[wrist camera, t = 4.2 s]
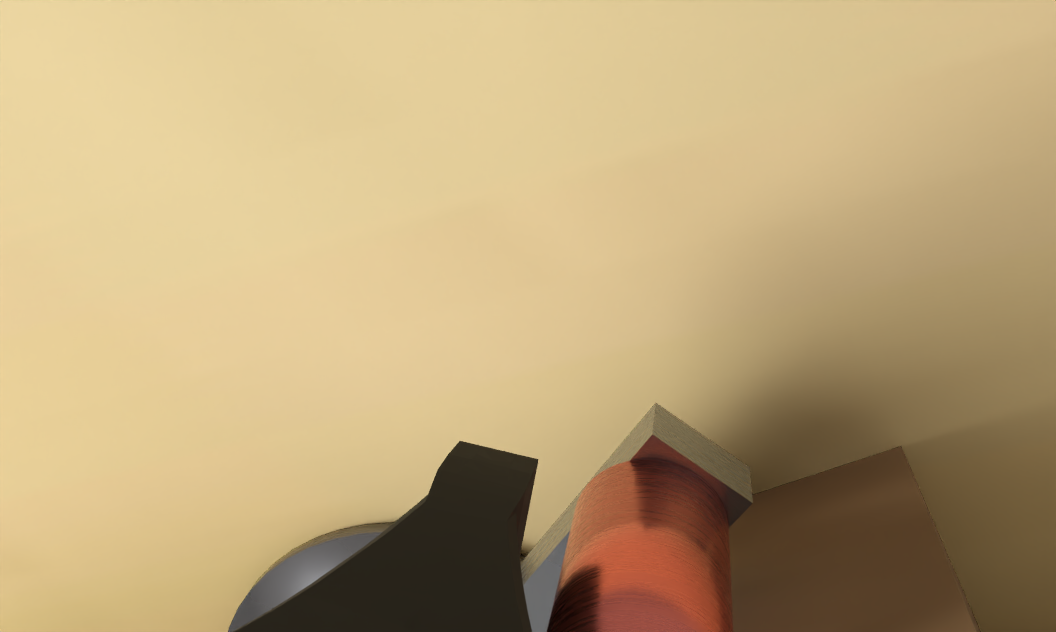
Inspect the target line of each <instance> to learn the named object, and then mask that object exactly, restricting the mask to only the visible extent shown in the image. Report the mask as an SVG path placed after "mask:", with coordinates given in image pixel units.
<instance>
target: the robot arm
mask: <svg viewBox="0 0 1056 632" xmlns="http://www.w3.org/2000/svg"><path fill="white" fill-rule="evenodd" d="M537 464H538V459H534V458H530V457H526V456H522V455H517V454H513V453H509V452H505V451H500V450H496V449H492V448H488V447H483V446H479V445H475V444H471V443H467V442H462V441H459V443H458V444H457V445H456V446H455V447H454V448H453V450H452V451H451V452H450V453H449V454H448V456H447V457H446V459H445V460H444V462H443V463H442V464H441V466H440V467H439V469H438V471H437V473H436V476H435V478H434V481H433V483H432V486H431V489H430V491H429V494H428V495H427V496H426V497H425V498H423V499H422V500H421V501H420V502H419V503H418V504H417V505H415V506H414V507H413V508H412V509H410V510H409V511H408V512H407V513H406V514H404V515H403V516H402V517H401V518H399V519H398V520H397V521H396V522H394V523H393V524H392V525H391V526H389V527H388V528H387V529H386V530H384V531H383V532H382V533H381V534H380V535H378V536H377V537H376V538H375V539H373V540H372V541H371V542H369V543H368V544H367V545H365V546H364V547H363V548H361V549H360V550H358V551H357V552H356V553H354V554H353V555H351V556H350V557H348V558H347V559H346V560H344V561H343V562H341V563H340V564H339V565H337V566H336V567H334V568H333V569H331V570H330V571H329V572H327V573H326V574H324V575H323V576H322V577H320V578H319V579H317V580H316V581H314V582H313V583H312V584H310V585H309V586H307V587H306V588H304V589H303V590H301V591H299V592H298V593H296V594H295V595H293V596H292V597H290V598H288V599H287V600H285V601H284V602H282V603H281V604H279V605H277V606H276V607H274V608H272V609H271V610H269V611H267V612H266V613H264V614H262V615H261V616H259V617H257V618H256V619H254V620H252V621H250V622H249V623H247V624H245V625H243V626H242V627H240V628H238V629H236V630H235V631H233V632H532V629H531V624H530V620H529V615H528V610H527V604H526V599H525V593H524V587H523V580H522V572H521V565H520V557H519V556H520V551H521V546H522V541H523V536H524V530H525V525H526V520H527V515H528V510H529V505H530V500H531V495H532V490H533V485H534V479H535V474H536V469H537Z"/></svg>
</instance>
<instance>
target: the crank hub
mask: <svg viewBox="0 0 1056 632" xmlns="http://www.w3.org/2000/svg"><path fill="white" fill-rule="evenodd" d="M392 524H393V523H382V524H368V525H361V526H356V527H351V528H346V529H341V530H337V531H334V532H331V533H328V534H325V535H323V536H320V537H317V538H314V539H312V540H310V541H308V542H306V543H304V544H302V545H300V546H299V547H297V548H295V549H293V550H291V551H290V552H289V553H287V554H286V555H285V556H283V557H282V558H280V559H279V560H278V561H276V562H275V563H274V564H273V565H272V566H271V567H270V568H269V569H268V570H267V571H266V572H265V573H264V574H263V575H262V576H261V577H260V578H259V579H258V580H257V582H256V583H255V585H254V586H253V587H252V589H251V590H250V592H249V593H248V595H247V596H246V597H245V599H244V600H243V602H242V603H241V605H240V606H239V608H238V609H237V612H236V614H235V616H234V618H233V620H232V622H231V625H230V627H229V630H228V632H233V631H235V630H236V629H238V628H240V627H242V626H243V625H245V624H247V623H249V622H250V621H252V620H254V619H256V618H257V617H259V616H261V615H262V614H264V613H266V612H267V611H269V610H271V609H272V608H274V607H276V606H277V605H279V604H281V603H282V602H284V601H285V600H287V599H288V598H290V597H292V596H293V595H295V594H296V593H298V592H299V591H301V590H303V589H304V588H306V587H307V586H309V585H310V584H312V583H313V582H314V581H316V580H317V579H319V578H320V577H322V576H323V575H324V574H326V573H327V572H329V571H330V570H331V569H333V568H334V567H336V566H337V565H339V564H340V563H341V562H343V561H344V560H346V559H347V558H348V557H350V556H351V555H353V554H354V553H356V552H357V551H358V550H360V549H361V548H363V547H364V546H365V545H367V544H368V543H369V542H371V541H372V540H373V539H375V538H376V537H377V536H378V535H380V534H381V533H382V532H383V531H384V530H386V529H387V528H388V527H389V526H391V525H392ZM519 557H520V563H521V562H522V561H523V560H524V558H525V557H524V556H522V555H520V556H519Z"/></svg>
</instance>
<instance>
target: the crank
mask: <svg viewBox="0 0 1056 632" xmlns="http://www.w3.org/2000/svg"><path fill="white" fill-rule="evenodd" d="M752 504H753V499H752V488H751V477H750V467H748V466H747V465H746V464H744V463H743V462H741V461H740V460H738V459H737V458H735V457H734V456H732V455H731V454H730V453H728V452H727V451H725V450H724V449H722V448H721V447H719V446H718V445H716V444H715V443H714V442H712V441H711V440H709V439H708V438H706V437H705V436H703V435H702V434H700V433H699V432H698V431H696V430H695V429H693V428H692V427H690V426H689V425H687V424H686V423H684V422H683V421H682V420H680V419H679V418H677V417H676V416H674V415H673V414H671V413H670V412H668V411H667V410H666V409H664V408H663V407H661V406H660V405H658V404H657V403H655V404H654V405H653V407H652V408H651V409H650V410H649V411H648V413H647V414H646V415H645V416H644V417H643V418H642V420H641V421H640V422H639V423H638V424H637V426H636V427H635V428H634V429H633V430H632V432H631V433H630V434H629V435H628V436H627V437H626V439H625V440H624V441H623V442H622V443H621V445H620V446H619V447H618V448H617V449H616V451H615V452H614V453H613V454H612V455H611V456H610V458H609V459H608V460H607V461H606V462H605V464H604V465H603V466H602V467H601V468H600V469H599V471H598V472H597V473H596V474H595V475H594V477H593V478H592V479H591V480H590V481H589V483H588V484H587V485H586V486H585V487H584V488H583V490H582V491H581V492H580V493H579V494H578V496H577V497H576V498H575V499H574V500H573V502H572V503H571V504H570V505H569V506H568V507H567V509H566V510H565V511H564V512H563V513H562V515H561V516H560V517H559V518H558V519H557V521H556V522H555V523H554V524H553V525H552V526H551V528H550V529H549V530H548V531H547V532H546V534H545V535H544V536H543V537H542V538H541V540H540V541H539V542H538V543H537V544H536V545H535V547H534V548H533V549H532V550H531V551H530V553H529V554H528V555H527V556H526V557H525V558H524V560H523V561H522V562H521V563H520V565H521V572H522V580H523V587H524V593H525V599H526V604H527V610H528V615H529V620H530V624H531V629H532V632H733V612H732V589H731V566H730V544H729V527H730V526H731V525H732V524H733V523H734V522H735V521H736V520H737V519H738V518H739V517H740V516H741V515H742V514H743V513H744V512H745V511H746V510H747V509H748V508H749V507H750V506H751V505H752Z"/></svg>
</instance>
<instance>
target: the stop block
mask: <svg viewBox="0 0 1056 632" xmlns="http://www.w3.org/2000/svg"><path fill="white" fill-rule="evenodd" d="M752 499H753V504H752V505H751V506H750V507H749V508H748V509H747V510H746V511H745V512H744V513H743V514H742V515H741V516H740V517H739V518H738V519H737V520H736V521H735V522H734V523H733V524H732V525H731V526H730V527H729V544H730V566H731V589H732V612H733V632H981V631H980V629H979V627H978V624H977V622H976V620H975V617H974V615H973V613H972V610H971V608H970V606H969V603H968V601H967V599H966V596H965V594H964V592H963V589H962V587H961V585H960V582H959V580H958V578H957V575H956V573H955V571H954V568H953V566H952V564H951V561H950V559H949V557H948V554H947V552H946V550H945V547H944V545H943V543H942V540H941V538H940V536H939V533H938V531H937V529H936V526H935V524H934V522H933V519H932V517H931V515H930V512H929V510H928V508H927V505H926V503H925V501H924V498H923V496H922V494H921V491H920V489H919V487H918V485H917V482H916V480H915V478H914V475H913V473H912V471H911V468H910V466H909V464H908V461H907V459H906V457H905V454H904V452H903V450H902V447H901V446H900V447H897V448H894V449H891V450H888V451H885V452H882V453H879V454H876V455H873V456H870V457H867V458H864V459H861V460H857V461H854V462H851V463H848V464H845V465H842V466H839V467H836V468H833V469H830V470H827V471H824V472H821V473H818V474H815V475H812V476H809V477H806V478H803V479H800V480H797V481H794V482H790V483H787V484H784V485H781V486H778V487H775V488H772V489H769V490H766V491H763V492H760V493H757V494H754V495H752Z"/></svg>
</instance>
